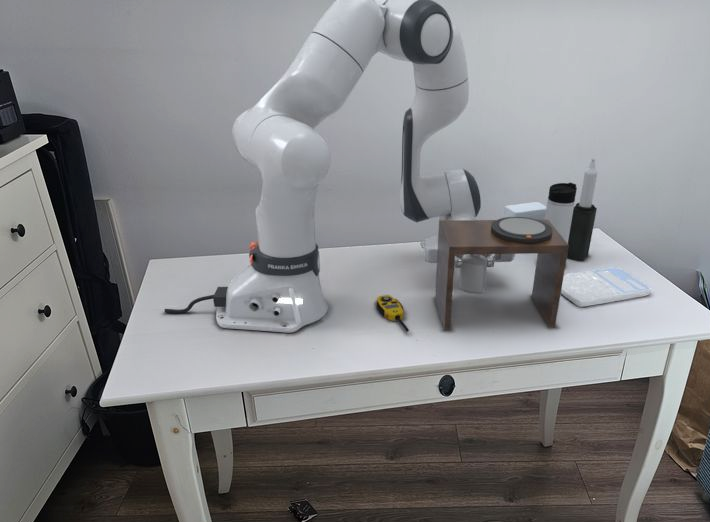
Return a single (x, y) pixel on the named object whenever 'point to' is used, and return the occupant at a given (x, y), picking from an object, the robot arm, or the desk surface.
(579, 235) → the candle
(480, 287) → the eye dropper bottle
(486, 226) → the desk shelf
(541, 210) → the cosmetics box
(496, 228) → the hot plate
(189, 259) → the desk surface
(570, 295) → the calculator
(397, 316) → the yellow walkie talkie
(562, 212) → the travel mug
